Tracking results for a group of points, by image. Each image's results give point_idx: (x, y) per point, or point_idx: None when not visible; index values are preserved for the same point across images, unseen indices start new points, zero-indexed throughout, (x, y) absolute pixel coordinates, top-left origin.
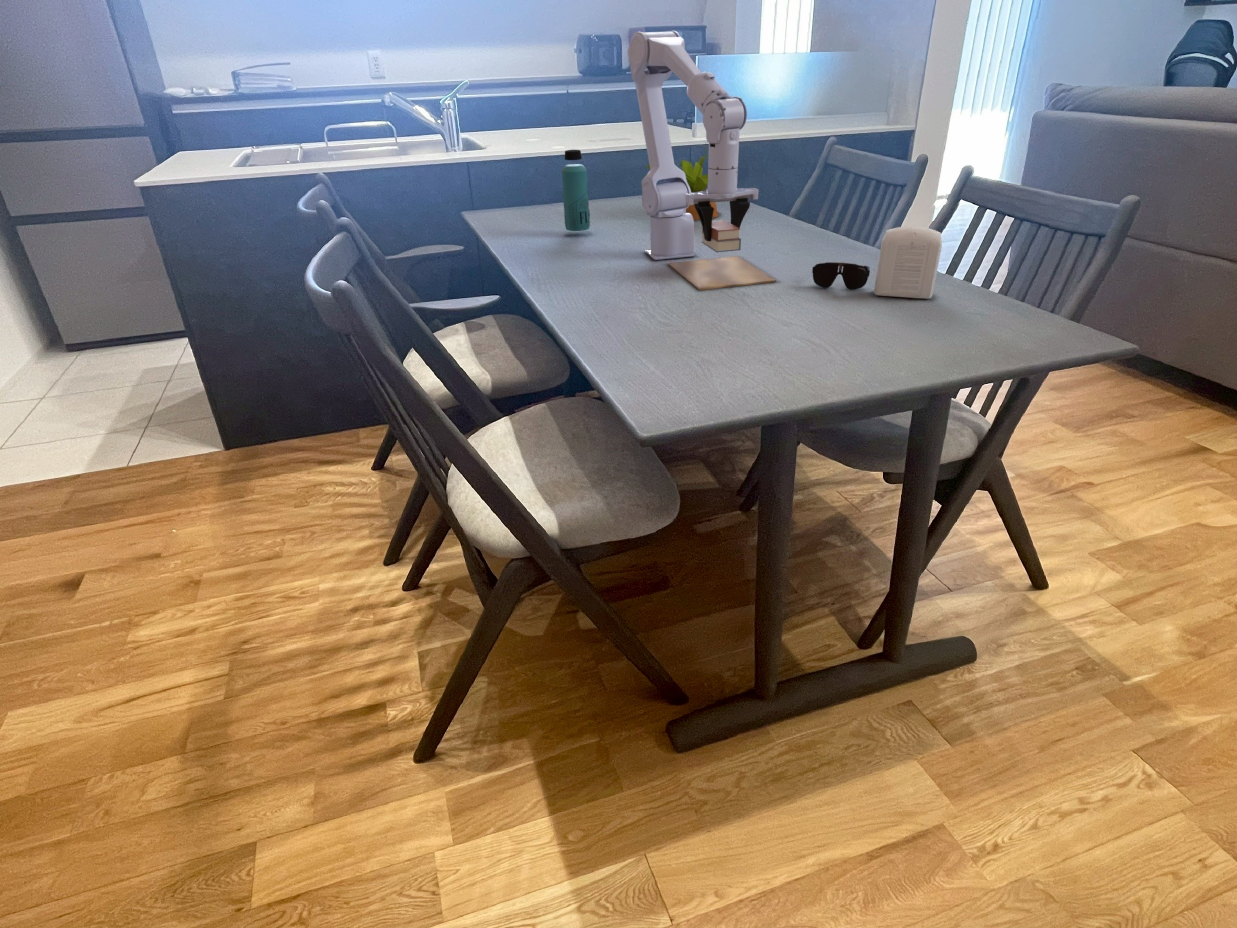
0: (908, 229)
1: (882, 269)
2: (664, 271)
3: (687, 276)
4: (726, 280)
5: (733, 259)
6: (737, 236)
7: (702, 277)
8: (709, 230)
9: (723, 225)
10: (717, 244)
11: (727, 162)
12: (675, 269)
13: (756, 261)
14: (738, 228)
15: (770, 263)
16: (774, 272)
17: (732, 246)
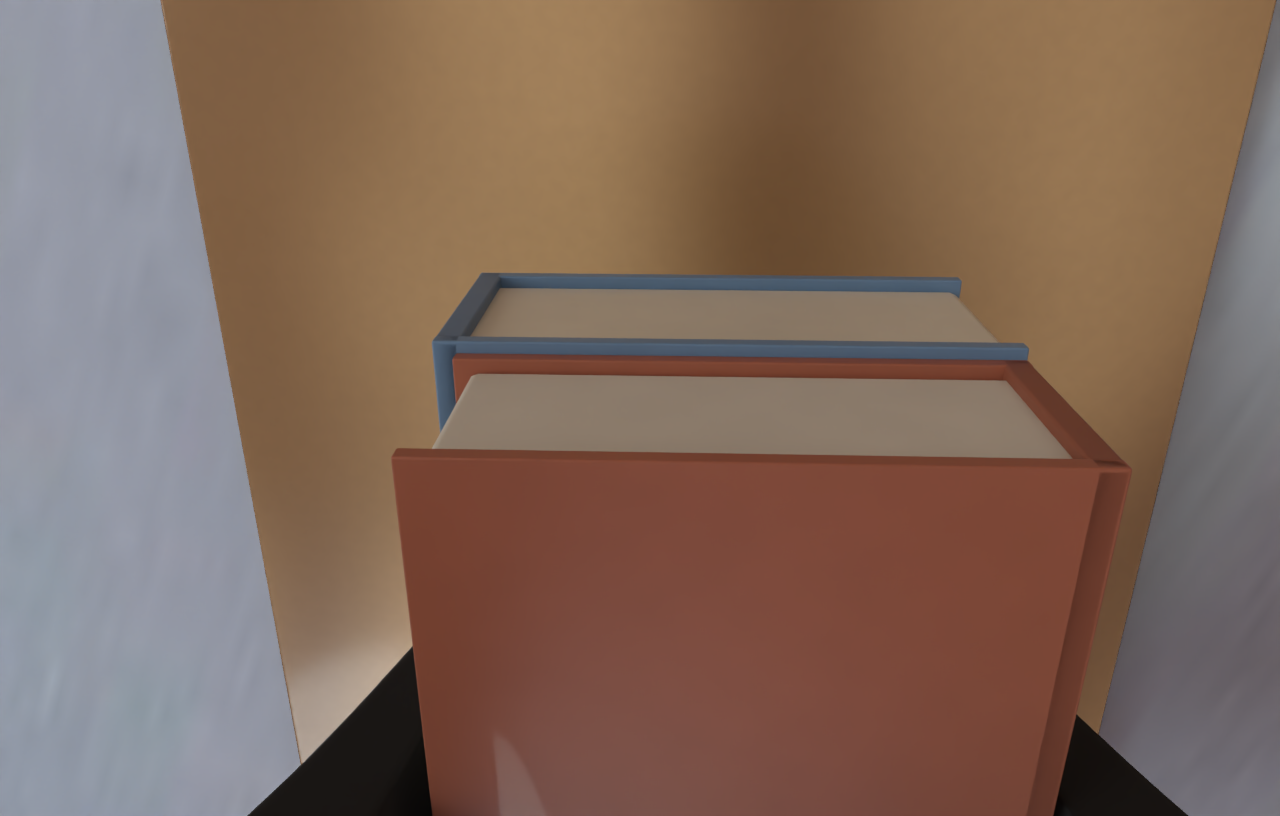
0: None
1: None
2: (1217, 699)
3: (1155, 383)
4: (788, 26)
5: None
6: (501, 389)
7: (1012, 277)
8: (1096, 771)
9: None
10: (987, 337)
11: None
12: (1104, 693)
13: (170, 692)
14: (436, 492)
15: (38, 584)
16: (60, 248)
17: (638, 306)
